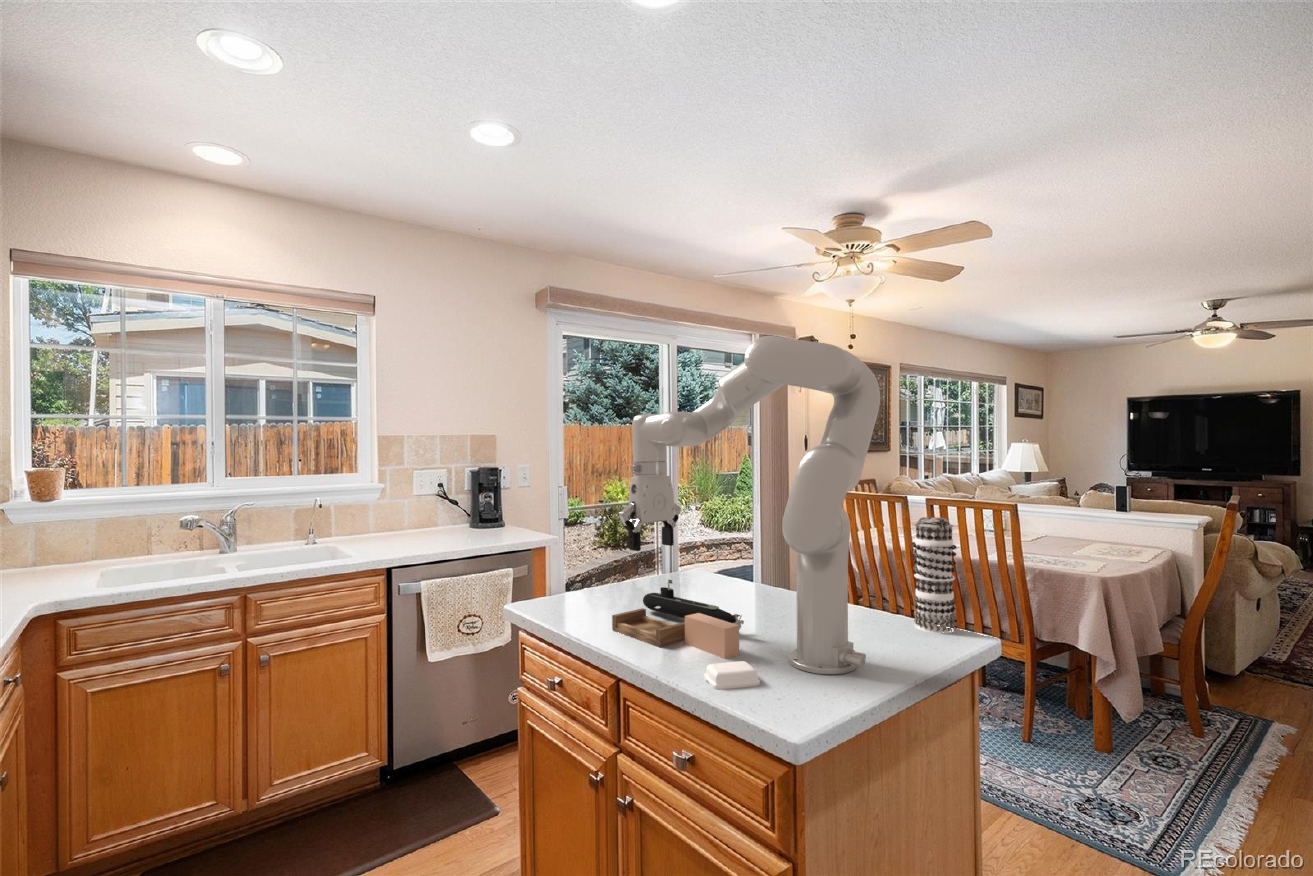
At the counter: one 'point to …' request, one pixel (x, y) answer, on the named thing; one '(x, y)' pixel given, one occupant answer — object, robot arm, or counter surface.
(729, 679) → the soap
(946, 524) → the decorative candle
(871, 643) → the counter surface
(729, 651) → the clay block
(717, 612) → the submarine model
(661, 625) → the wooden tray
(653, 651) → the counter surface
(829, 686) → the counter surface
